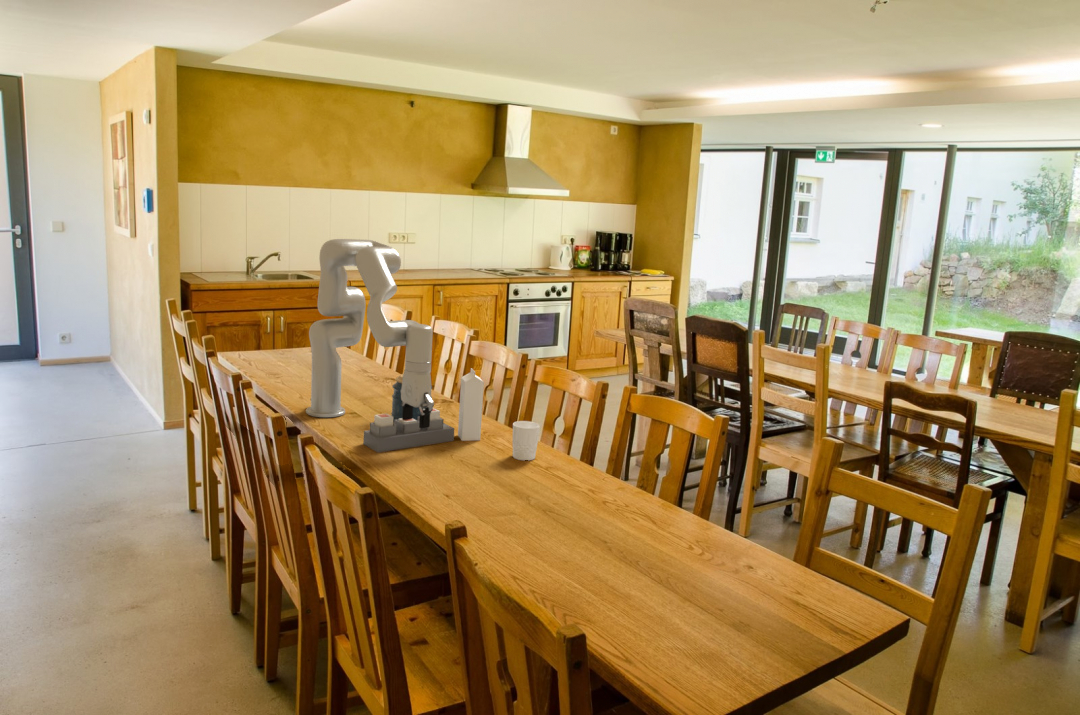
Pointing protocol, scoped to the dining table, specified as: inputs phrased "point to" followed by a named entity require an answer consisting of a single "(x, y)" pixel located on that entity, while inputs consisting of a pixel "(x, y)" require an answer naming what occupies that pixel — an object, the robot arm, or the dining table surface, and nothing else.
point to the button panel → (407, 435)
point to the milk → (470, 407)
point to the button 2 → (407, 421)
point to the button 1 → (383, 420)
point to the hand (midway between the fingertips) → (415, 423)
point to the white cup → (525, 440)
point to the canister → (397, 402)
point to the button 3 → (435, 414)
